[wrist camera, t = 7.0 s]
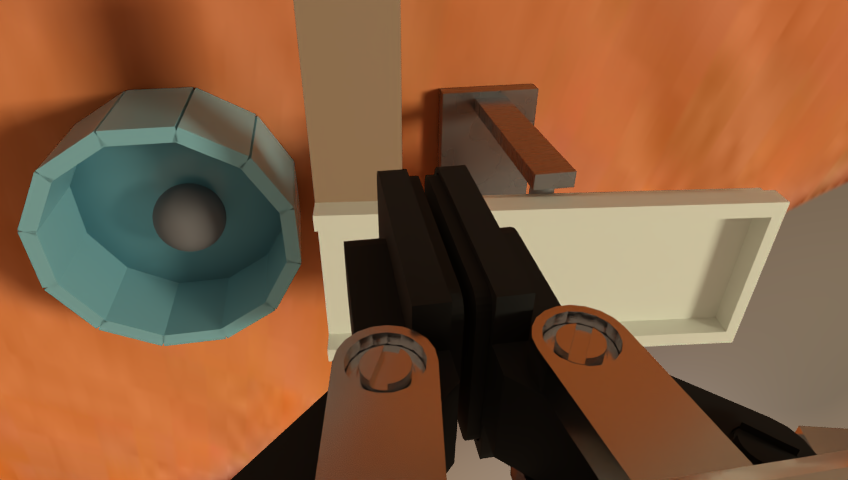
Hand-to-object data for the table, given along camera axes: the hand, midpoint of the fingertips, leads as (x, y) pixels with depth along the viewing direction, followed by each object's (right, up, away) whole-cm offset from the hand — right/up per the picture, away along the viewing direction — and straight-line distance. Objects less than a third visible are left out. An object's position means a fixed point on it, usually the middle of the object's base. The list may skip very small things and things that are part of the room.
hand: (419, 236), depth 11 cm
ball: (-14, +1, +22) cm, 26 cm away
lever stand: (+4, +4, +28) cm, 28 cm away
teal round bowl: (-15, +3, +24) cm, 29 cm away
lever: (+6, +3, +17) cm, 19 cm away
